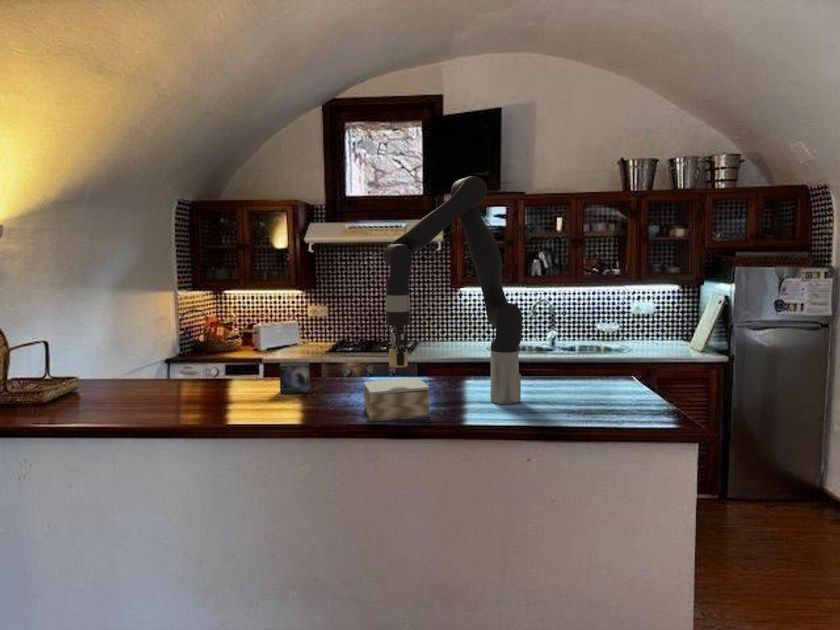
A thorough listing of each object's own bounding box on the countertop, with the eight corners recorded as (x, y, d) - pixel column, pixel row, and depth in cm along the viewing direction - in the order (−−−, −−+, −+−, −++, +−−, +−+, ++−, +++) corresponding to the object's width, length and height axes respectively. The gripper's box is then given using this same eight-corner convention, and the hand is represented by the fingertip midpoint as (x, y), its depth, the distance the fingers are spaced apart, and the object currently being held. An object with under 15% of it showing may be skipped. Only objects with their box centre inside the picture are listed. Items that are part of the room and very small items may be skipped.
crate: (418, 405, 195) (418, 381, 194) (429, 417, 181) (429, 391, 180) (364, 409, 191) (363, 384, 190) (370, 421, 177) (370, 395, 176)
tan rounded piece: (405, 363, 188) (405, 347, 187) (409, 367, 182) (408, 350, 182) (387, 364, 186) (387, 348, 186) (391, 368, 181) (391, 351, 180)
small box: (279, 395, 211) (278, 366, 209) (280, 391, 217) (279, 362, 216) (310, 393, 213) (309, 364, 212) (309, 389, 219) (309, 361, 218)
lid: (418, 379, 194) (418, 377, 194) (429, 389, 180) (429, 387, 180) (363, 384, 190) (363, 382, 190) (370, 395, 176) (370, 392, 176)
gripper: (415, 311, 176) (415, 367, 178) (405, 307, 190) (405, 359, 192) (390, 312, 175) (390, 368, 177) (382, 307, 189) (382, 360, 190)
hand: (398, 363), depth 184 cm, fingers closed on tan rounded piece, 5 cm apart
